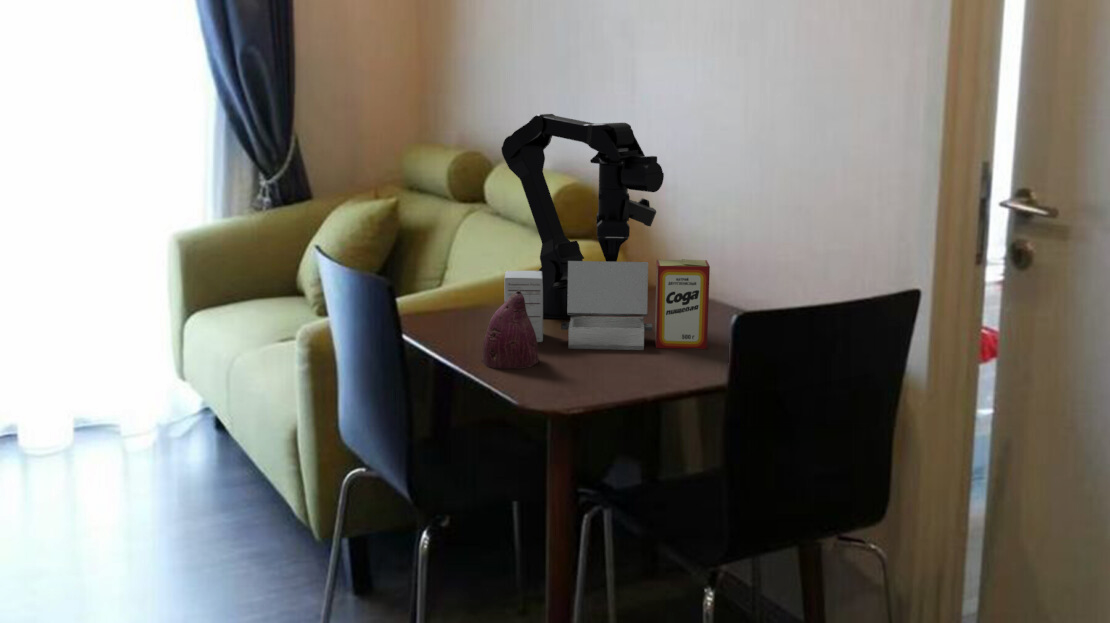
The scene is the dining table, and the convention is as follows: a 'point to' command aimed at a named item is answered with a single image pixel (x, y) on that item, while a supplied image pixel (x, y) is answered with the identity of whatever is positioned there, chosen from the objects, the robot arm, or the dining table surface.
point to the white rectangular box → (606, 332)
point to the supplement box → (528, 295)
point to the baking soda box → (682, 303)
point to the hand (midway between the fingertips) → (611, 266)
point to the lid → (607, 288)
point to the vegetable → (510, 337)
